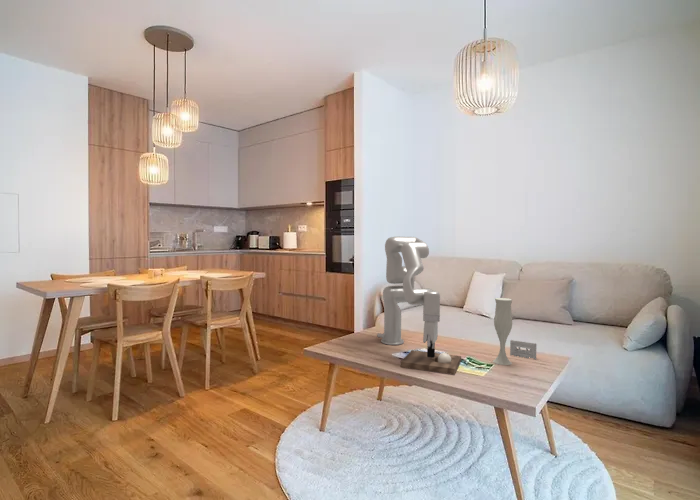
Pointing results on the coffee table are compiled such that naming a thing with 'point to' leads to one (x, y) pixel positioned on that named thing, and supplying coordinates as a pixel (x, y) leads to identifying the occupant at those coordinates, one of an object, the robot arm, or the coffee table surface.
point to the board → (430, 362)
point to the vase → (503, 327)
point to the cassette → (523, 353)
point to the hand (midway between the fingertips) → (430, 356)
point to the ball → (444, 358)
